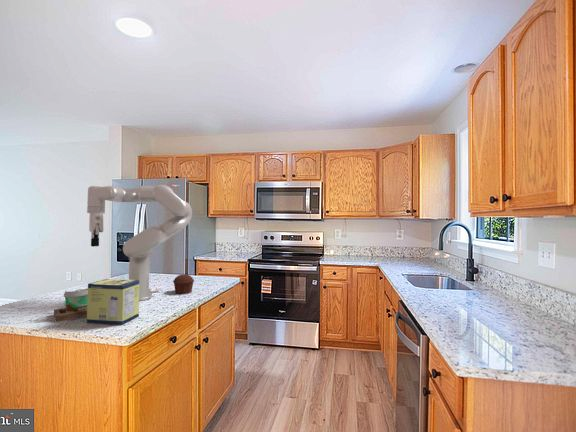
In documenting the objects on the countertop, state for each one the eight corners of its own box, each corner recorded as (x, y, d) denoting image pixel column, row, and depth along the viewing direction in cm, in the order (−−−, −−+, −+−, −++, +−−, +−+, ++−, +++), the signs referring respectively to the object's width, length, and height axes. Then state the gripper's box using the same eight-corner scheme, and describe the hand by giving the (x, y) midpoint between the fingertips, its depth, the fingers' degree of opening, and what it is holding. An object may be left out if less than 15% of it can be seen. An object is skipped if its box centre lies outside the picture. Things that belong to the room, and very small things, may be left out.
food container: (74, 318, 114) (75, 292, 114) (62, 316, 115) (63, 291, 116) (101, 309, 126) (102, 286, 126) (90, 307, 127) (91, 285, 127)
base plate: (101, 307, 131) (101, 302, 131) (106, 313, 123) (106, 307, 123) (53, 315, 119) (53, 309, 119) (55, 322, 111) (55, 315, 111)
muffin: (169, 291, 162) (170, 274, 163) (188, 289, 170) (188, 272, 170) (177, 296, 154) (178, 277, 154) (197, 292, 161) (197, 275, 161)
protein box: (105, 314, 121) (106, 278, 122) (139, 316, 120) (140, 279, 120) (85, 323, 111) (86, 283, 111) (122, 325, 109) (123, 285, 110)
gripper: (107, 210, 142) (106, 247, 142) (101, 211, 153) (100, 245, 153) (89, 209, 137) (88, 247, 137) (85, 210, 148) (83, 245, 148)
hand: (94, 246), depth 145 cm, fingers closed
